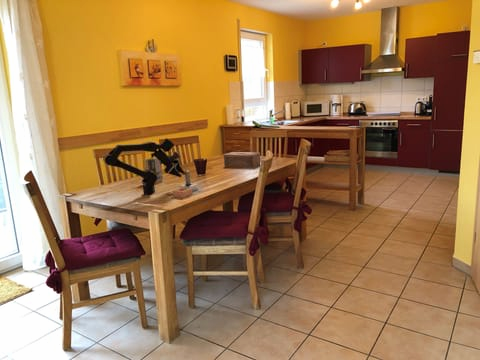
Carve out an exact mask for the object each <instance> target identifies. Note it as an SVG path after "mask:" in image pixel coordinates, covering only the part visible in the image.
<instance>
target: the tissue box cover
mask: <svg viewBox="0 0 480 360" xmlns="http://www.w3.org/2000/svg"><path fill="white" fill-rule="evenodd" d="M261 159H262V158H261V152H254V151H250V152H249V151H248V152H247V151H246V152H244V151H243V152H241V151H231V152H228V153H225V154H223V164H224V165H223V166H226V168H228V167H229V168H247V169H248V168H251V169H252V168H253V169H254V168H257V167H259V166H261V165H260V162H261V163H262V161H261Z"/></svg>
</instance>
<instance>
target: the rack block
mask: <svg viewBox="0 0 480 360" xmlns="http://www.w3.org/2000/svg"><path fill="white" fill-rule="evenodd" d="M172 193H173V197H182V198H185V197H187V196H190V195H192V194H193V192H192V188H179V187H178V188H176V189H173V190H172Z"/></svg>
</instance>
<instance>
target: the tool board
mask: <svg viewBox="0 0 480 360" xmlns="http://www.w3.org/2000/svg"><path fill="white" fill-rule="evenodd" d="M205 191H207V189H205V188H204V189H203V188H202V189H200V188H198V190H195V191H193V194H192V195H190V196H187V197H185V198H182V197H173V192H172V193H169V194H166V195H163V196H162V197H163V198H173V199H181V200H186V199H188V198H191V197H194V196H195V195H198V194H201V193H203V192H205Z"/></svg>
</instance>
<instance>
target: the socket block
mask: <svg viewBox="0 0 480 360" xmlns="http://www.w3.org/2000/svg"><path fill="white" fill-rule="evenodd" d="M178 188H192V192H193V191H195V190H198V189H199V185H198V183H192V182H191V185H190V186H186V183H183V184H180V185H179V186H178Z"/></svg>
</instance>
